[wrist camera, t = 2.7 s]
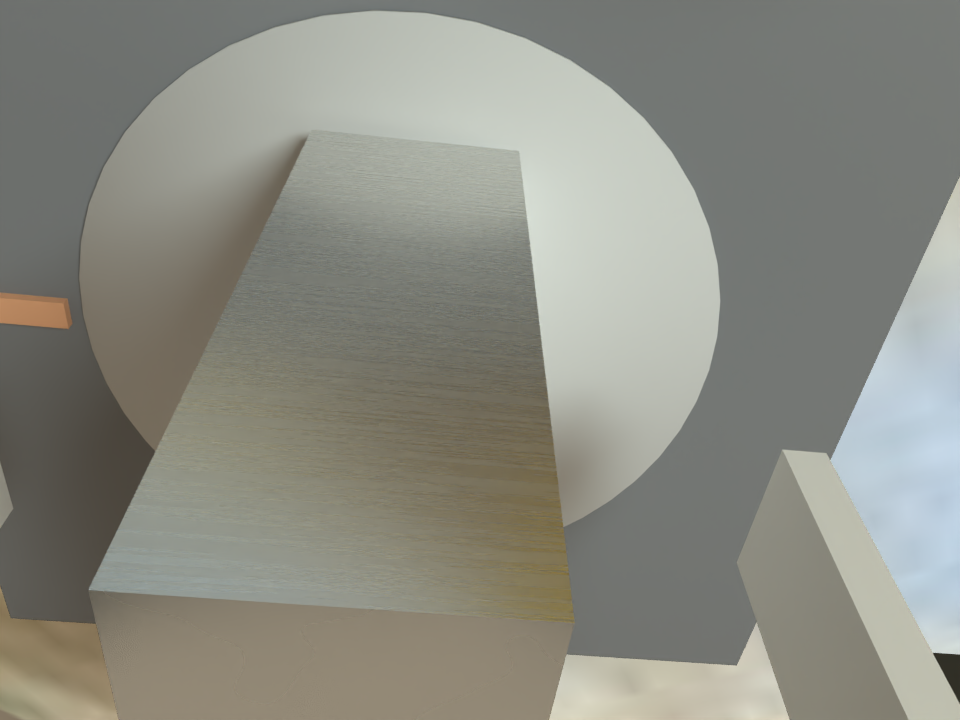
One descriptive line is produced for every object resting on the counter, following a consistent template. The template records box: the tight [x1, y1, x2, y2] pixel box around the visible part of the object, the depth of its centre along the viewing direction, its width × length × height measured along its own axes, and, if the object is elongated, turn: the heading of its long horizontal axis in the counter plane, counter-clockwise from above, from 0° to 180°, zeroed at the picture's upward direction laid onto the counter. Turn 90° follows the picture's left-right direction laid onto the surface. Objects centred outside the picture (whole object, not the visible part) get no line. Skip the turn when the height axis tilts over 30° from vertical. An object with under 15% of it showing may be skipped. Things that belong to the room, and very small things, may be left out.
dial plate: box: [0, 0, 960, 665], centre depth 18 cm, size 20×20×3 cm
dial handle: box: [88, 129, 575, 720], centre depth 13 cm, size 10×4×10 cm, turn 174°
